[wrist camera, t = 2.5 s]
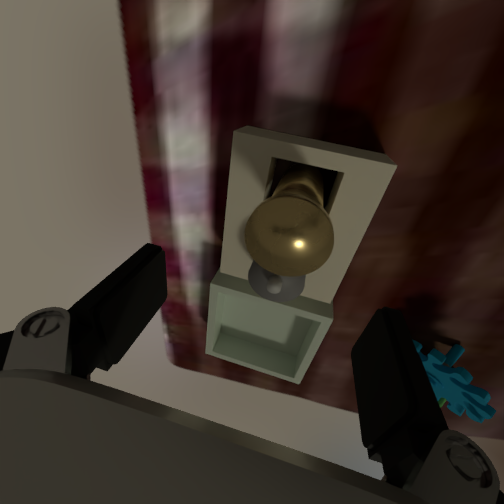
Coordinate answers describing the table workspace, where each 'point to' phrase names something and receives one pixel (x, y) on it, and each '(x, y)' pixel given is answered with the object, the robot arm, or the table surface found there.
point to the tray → (264, 328)
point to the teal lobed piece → (455, 384)
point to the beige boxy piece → (338, 207)
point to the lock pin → (292, 225)
